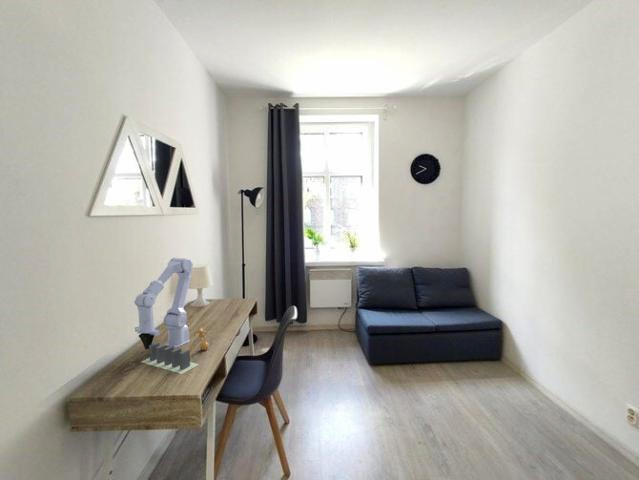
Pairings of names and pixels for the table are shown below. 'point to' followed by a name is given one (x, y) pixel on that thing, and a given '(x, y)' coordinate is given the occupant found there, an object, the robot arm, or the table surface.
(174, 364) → the dark grey block
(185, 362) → the tile
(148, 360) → the felt strip
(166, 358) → the tile
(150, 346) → the tile
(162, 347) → the tile
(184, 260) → the robot arm
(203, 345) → the figurine
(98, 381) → the table surface
